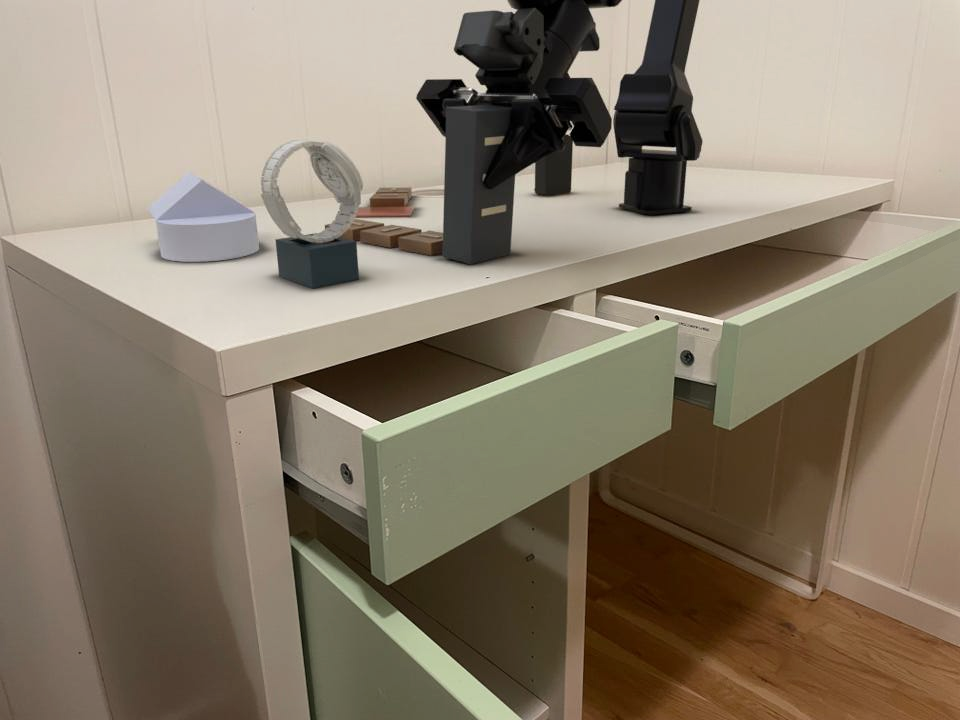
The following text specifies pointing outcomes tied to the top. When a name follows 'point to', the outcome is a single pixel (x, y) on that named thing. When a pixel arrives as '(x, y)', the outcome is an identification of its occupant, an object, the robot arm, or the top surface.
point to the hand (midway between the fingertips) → (467, 184)
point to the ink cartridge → (555, 171)
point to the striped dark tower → (475, 185)
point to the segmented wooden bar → (395, 237)
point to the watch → (323, 252)
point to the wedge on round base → (203, 223)
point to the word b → (388, 203)
